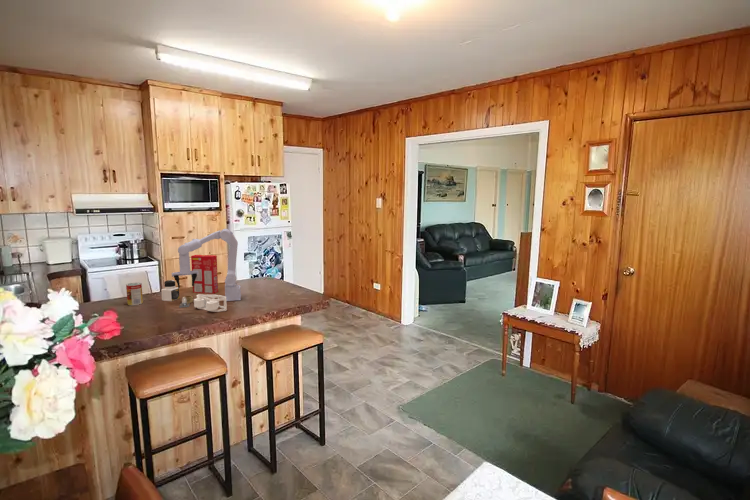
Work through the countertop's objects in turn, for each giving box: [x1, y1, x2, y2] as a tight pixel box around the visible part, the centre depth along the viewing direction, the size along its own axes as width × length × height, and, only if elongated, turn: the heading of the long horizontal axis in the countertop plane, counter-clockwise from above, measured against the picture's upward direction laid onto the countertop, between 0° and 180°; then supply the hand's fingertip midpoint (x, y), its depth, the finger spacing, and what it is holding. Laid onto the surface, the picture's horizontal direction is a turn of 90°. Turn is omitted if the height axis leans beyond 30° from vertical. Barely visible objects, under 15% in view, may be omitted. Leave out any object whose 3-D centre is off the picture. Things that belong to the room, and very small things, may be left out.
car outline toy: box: [193, 293, 228, 313], centre depth 230 cm, size 20×11×7 cm, turn 60°
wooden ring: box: [181, 295, 194, 304], centre depth 245 cm, size 6×6×3 cm
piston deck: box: [178, 296, 191, 309], centre depth 236 cm, size 5×6×5 cm
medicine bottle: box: [161, 279, 180, 302], centre depth 249 cm, size 7×7×12 cm
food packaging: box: [190, 254, 219, 295], centre depth 266 cm, size 15×5×25 cm, turn 84°
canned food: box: [125, 282, 144, 306], centre depth 239 cm, size 8×8×12 cm
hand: (186, 286), depth 243 cm, fingers open, 7 cm apart
